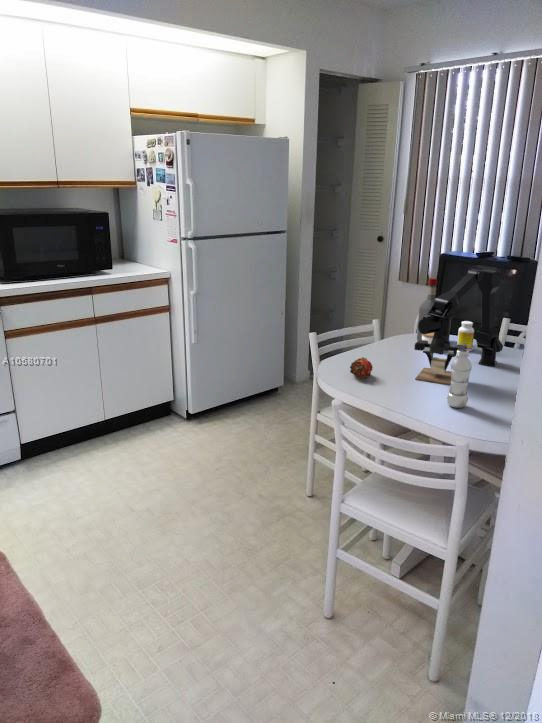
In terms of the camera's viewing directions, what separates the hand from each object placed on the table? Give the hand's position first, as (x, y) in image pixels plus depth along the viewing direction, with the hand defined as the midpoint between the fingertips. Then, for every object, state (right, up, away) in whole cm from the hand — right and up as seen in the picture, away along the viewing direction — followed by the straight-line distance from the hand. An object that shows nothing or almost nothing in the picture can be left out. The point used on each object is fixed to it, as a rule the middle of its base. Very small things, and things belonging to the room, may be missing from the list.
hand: (438, 368), depth 207 cm
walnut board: (0, -3, +1) cm, 3 cm away
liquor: (+10, +13, +48) cm, 50 cm away
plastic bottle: (-2, -13, -26) cm, 29 cm away
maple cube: (0, -1, 0) cm, 1 cm away
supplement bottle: (+22, +8, +34) cm, 41 cm away
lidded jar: (+9, +8, +36) cm, 37 cm away
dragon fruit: (-30, -3, +3) cm, 30 cm away
